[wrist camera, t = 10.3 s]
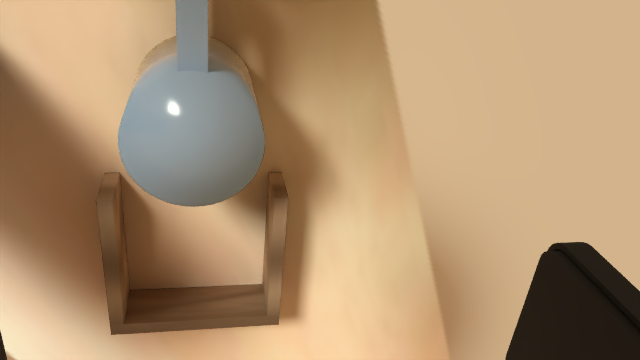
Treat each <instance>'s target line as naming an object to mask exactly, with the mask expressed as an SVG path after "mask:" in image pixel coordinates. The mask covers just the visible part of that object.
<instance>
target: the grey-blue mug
mask: <svg viewBox="0 0 640 360" xmlns="http://www.w3.org/2000/svg"><path fill="white" fill-rule="evenodd" d="M176 31H177V36H176V37H173V38H170V39H168V40H165V41H163V42H162V43H160V44H158V45H157V46H156V47H155V48H153V49H152V50H151V51H150V52H149V53H148V54H147V56H146V57H145V59H144V60H143V61H142V63H141V66H140V68H139V70H138V73H137V76H136V79H135V82H134V85H133V88H132V91H131V94H130V97H129V100H128V103H127V105H126V108H125V111H124V114H123V117H122V120H121V124H120V127H119V133H118V146H119V153H120V156H121V159H122V162H123V164H124V166H125V168H126V170H127V172H128V173H129V175H130V176H131V178H132V179H133V180H134V181H135V182H136V183H137V184H138V185H139V186H140V187H141V188H142V189H143V190H145V191H146V192H148V193H149V194H150V195H152V196H154V197H156V198H158V199H160V200H163V201H165V202H168V203H171V204H175V205H181V206H193V207H195V206H206V205H211V204H215V203H218V202H221V201H224V200H226V199H228V198H230V197H232V196H234V195H235V194H237V193H238V192H240V191H241V190H242V189H243V188H244V187H246V186H247V185H248V184H249V183H250V181H251V180H252V179H253V178H254V176H255V174H256V173H257V171H258V169H259V167H260V165H261V162H262V159H263V155H264V149H265V136H264V130H263V126H262V122H261V118H260V114H259V109H258V105H257V101H256V97H255V93H254V89H253V85H252V80H251V77H250V74H249V71H248V69H247V67H246V65H245V63H244V62H243V60H242V59H241V58H240V57H239V55H238V54H237V53H236V52H235V51H234V50H233V49H231V48H230V47H229V46H227V45H226V44H224V43H222V42H221V41H219V40H216V39H214V38H211V37H208V0H176Z"/></svg>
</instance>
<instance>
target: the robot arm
mask: <svg viewBox="0 0 640 360" xmlns="http://www.w3.org/2000/svg"><path fill="white" fill-rule="evenodd" d="M0 360H7V357H6V353H5V349H4V344H3V340H2V336H1V332H0ZM506 360H640V291H639V290H638V289H637V288H635V287H634V286H633V285H632V284H631V283H630V282H629V281H628V280H627V279H626V278H625V277H624V276H623V275H622V274H621V273H620V272H618V271H617V270H616V269H615V268H614V267H613V266H612V265H611V264H610V263H609V262H607V260H606V259H605V258H604V257H603V256H601V255H600V254H599V253H598V252H597V251H596V250H595V249H594V248H593V247H592V246H590V245H589V244H587V243H584V242H573V243H572V242H571V243H555V244H552V245H551V246H550V247H549V249H548V251H547V252H544V253H543V254H542V255H541V257H540V260H539V262H538V265H537V268H536V271H535V274H534V277H533V280H532V283H531V285H530V289H529V291H528V294H527V297H526V300H525V303H524V306H523V309H522V311H521V314H520V317H519V320H518V323H517V326H516V328H515V331H514V334H513V337H512V340H511V343H510V346H509V349H508V351H507V354H506Z"/></svg>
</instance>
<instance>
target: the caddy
mask: <svg viewBox="0 0 640 360" xmlns="http://www.w3.org/2000/svg"><path fill="white" fill-rule="evenodd" d="M96 205H97V214H98V223H99V232H100V241H101V249H102V258H103V267H104V276H105V285H106V293H107V302H108V311H109V320H110V328H111V335H116V334H132V333H148V332H164V331H181V330H197V329H213V328H230V327H246V326H262V325H279V313H280V300H281V287H282V274H283V261H284V249H285V236H286V223H287V210H288V195H287V191H286V188H285V184H284V180H283V176H282V173H269V176H268V194H267V212H266V229H265V247H264V265H263V282H262V284H257V285H235V286H213V287H191V288H169V289H147V290H130V285H129V274H128V263H127V251H126V240H125V228H124V217H123V206H122V194H121V183H120V173H105V175H104V178H103V181H102V184H101V187H100V190H99V193H98V196H97V199H96Z"/></svg>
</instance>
